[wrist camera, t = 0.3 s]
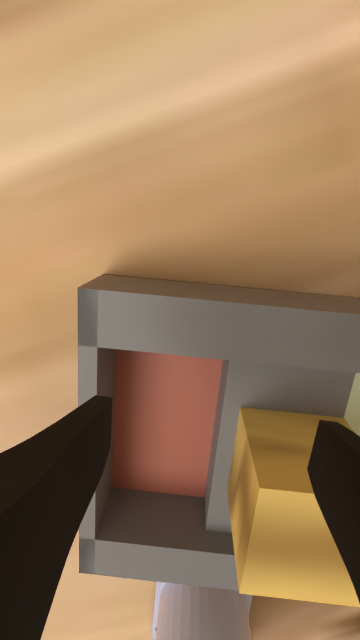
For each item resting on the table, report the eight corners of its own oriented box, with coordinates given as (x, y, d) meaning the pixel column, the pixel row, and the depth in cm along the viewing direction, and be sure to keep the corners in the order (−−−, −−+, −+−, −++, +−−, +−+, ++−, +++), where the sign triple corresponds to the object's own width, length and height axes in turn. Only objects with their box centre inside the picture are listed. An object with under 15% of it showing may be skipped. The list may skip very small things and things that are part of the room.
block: (321, 500, 20) (371, 608, 15) (226, 489, 20) (239, 593, 15) (343, 417, 19) (409, 504, 13) (240, 407, 19) (259, 488, 13)
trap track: (498, 557, 25) (561, 627, 20) (99, 513, 25) (79, 572, 21) (615, 322, 19) (736, 350, 15) (103, 274, 20) (77, 287, 16)
